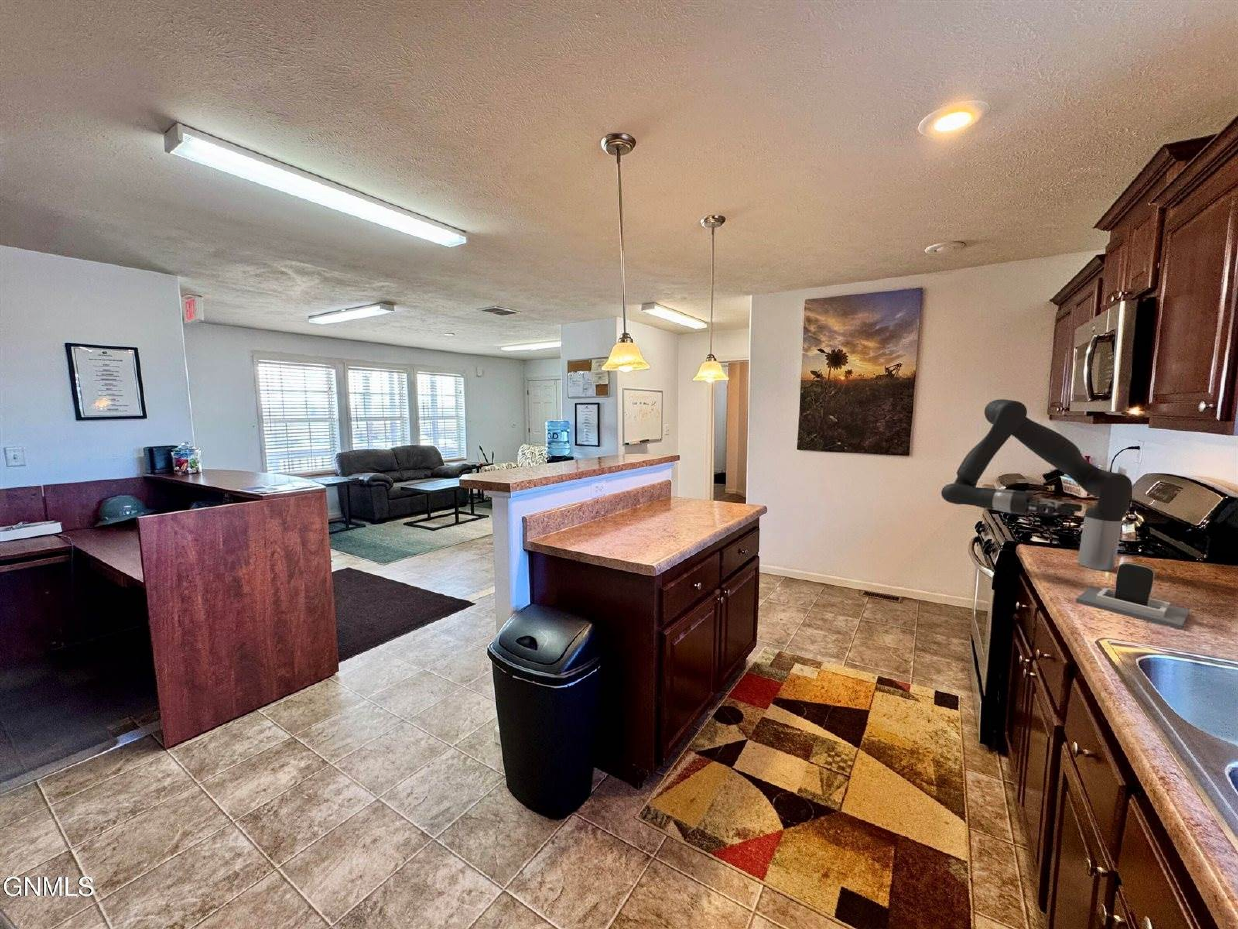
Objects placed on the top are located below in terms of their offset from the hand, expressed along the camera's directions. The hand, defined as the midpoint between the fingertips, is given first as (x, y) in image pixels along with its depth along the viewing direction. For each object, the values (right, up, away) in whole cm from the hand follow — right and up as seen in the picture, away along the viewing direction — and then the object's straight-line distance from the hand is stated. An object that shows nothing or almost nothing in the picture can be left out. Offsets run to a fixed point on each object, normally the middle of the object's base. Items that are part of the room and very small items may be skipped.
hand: (1078, 510), depth 149 cm
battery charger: (+3, -25, -13) cm, 28 cm away
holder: (+3, -26, -13) cm, 29 cm away
